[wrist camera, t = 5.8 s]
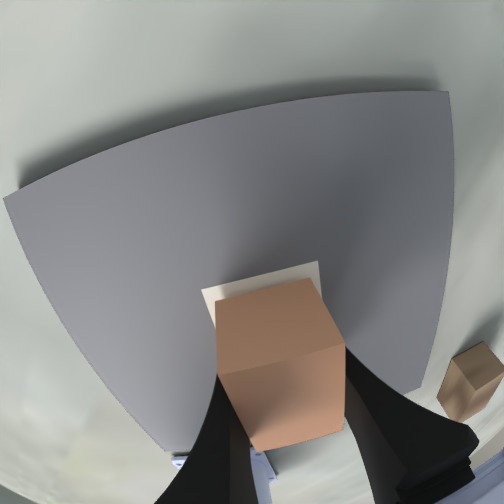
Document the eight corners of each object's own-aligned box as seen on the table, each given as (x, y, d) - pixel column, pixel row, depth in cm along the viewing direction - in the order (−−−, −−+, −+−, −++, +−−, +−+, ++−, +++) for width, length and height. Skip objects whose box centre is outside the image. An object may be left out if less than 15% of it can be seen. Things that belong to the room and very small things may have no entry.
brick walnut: (466, 381, 23) (484, 407, 19) (436, 397, 22) (454, 426, 19) (483, 341, 20) (507, 369, 16) (451, 358, 20) (475, 390, 16)
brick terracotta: (320, 369, 15) (343, 429, 11) (246, 388, 15) (256, 452, 11) (310, 277, 12) (345, 342, 9) (214, 301, 12) (217, 375, 9)
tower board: (414, 378, 20) (420, 387, 19) (165, 440, 19) (164, 451, 18) (435, 90, 11) (448, 91, 10) (14, 191, 10) (2, 198, 9)
